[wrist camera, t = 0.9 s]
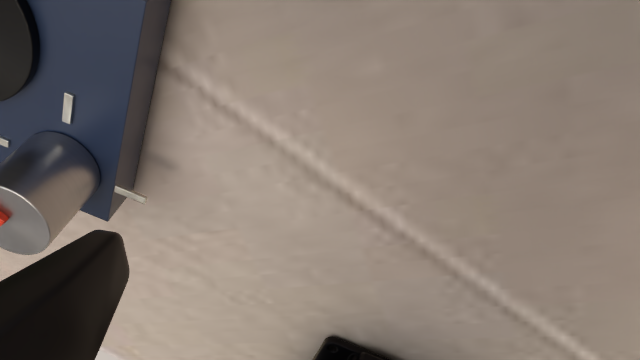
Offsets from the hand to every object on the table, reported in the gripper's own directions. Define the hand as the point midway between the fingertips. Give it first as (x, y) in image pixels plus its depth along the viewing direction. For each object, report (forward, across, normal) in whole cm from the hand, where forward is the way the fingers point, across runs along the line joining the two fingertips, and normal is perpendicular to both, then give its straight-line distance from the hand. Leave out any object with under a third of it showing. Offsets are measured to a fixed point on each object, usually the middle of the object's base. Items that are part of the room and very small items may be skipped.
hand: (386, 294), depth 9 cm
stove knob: (+11, +14, +7) cm, 20 cm away
